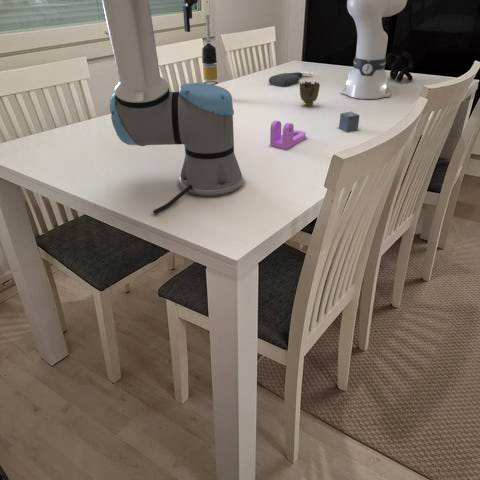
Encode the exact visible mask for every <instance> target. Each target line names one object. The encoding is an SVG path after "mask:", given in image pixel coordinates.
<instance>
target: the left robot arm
mask: <svg viewBox="0 0 480 480" xmlns="http://www.w3.org/2000/svg"><path fill="white" fill-rule="evenodd" d="M181 1H182V2H183V4H184V5H183V6H182V12H183V25H184V32H186V33H191V24H190V22H191V21H190V19H193V5H195V4H198V2H199V0H181ZM101 2H102V6H103V11H104V15H105V21H106V24H107V30H108V34H109V39H110V43H111V47H112V53H113V57H114V61H115V66H116V71H117V75H118V79H119V82H118V83H117V85H116V86H115V87H114V93H113V94H111V96H110V100H109V112H110V114H111V115H110V119H111V122H112V126H113V129H114V132H115V133H116V135H117V137H118V139H119V140H120V141H121V142H122V143H124V144H125V145H127V146H140V147H146V146H169V145H171V146H172V145H173V146H175V145H184V154H185V155H184V158H183V164H182V168H181V171H180V176H179V183H180V184H179V185H180V188H181V189H182V190H181V191H180V192H179V193H177V194H176V196H174V197H173V198H172V199H171V200H169V201H167V203H165V204H163V205H161V206H159V207H157V208H155V209H154V210H152V212H153V214H154V215H158V214H159V213H160V212H163V211H164V210H166V209H168V208H170V207H171V206H172V205H173V204H175V203H176V202H177V201H178V200H180V199H181V198H182V197H183V196H184V195H186V194H190V195H194V196H199V197H221V196H224V195H229V194H232V193H234V192H235V191H237V190H239V189H240V188H241V187H242V185H243V174H242V171H241V168H240V165H239V163H238V160H237V157H236V154H235V138H234V137H235V135H234V134H235V133H234V114H235V110H234V106H233V105H234V104H233V96H232V94H231V92H230V91H229V90H227V89H226V88H224V87H222V86H220V85H217V84H214V85H212V84H213V83H206V84H205V83H204V82H192V83H191V82H190V83H189V82H187V83H183V84H182V85H180V86H179V89H178V91H170V85H169V83H168V81H167V79H164V77H162V76H161V72H160V66H159V59H158V52H157V45H156V39H155V32H154V26H153V18H152V11H151V5H150V4H151V3H150V0H101Z"/></svg>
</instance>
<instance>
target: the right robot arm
mask: <svg viewBox="0 0 480 480" xmlns="http://www.w3.org/2000/svg"><path fill="white" fill-rule="evenodd" d="M346 1H347V2H346V9H347V13H349V15H350V16H351V18H352V19H353V21H354V23H355V28H356V34H357V39H356V51H355V57H353V58H354V59H353V68H352V70H350V71H349V72H348V77H347V81H346V83H345V85H346V88H345V89H342V91H341V94H342V95H346V96H348V97H350V98H354V99H360V100H377V99H382V98H390V97H391V93H390V91H389V89H388V74H387V72H386V71H385V68H386V64H387V61H386V56H387V55H386V54H387V48H388V40H389V36H388V34H387V32H386V31H385V30H384V27H383V21H382V19H383V18H388V17H392V16H394V15H397V14H398V13H400V12H403V10H404V9H405V7H406V5H407V2H408V0H346Z"/></svg>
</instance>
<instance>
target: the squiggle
mask: <svg viewBox="0 0 480 480" xmlns="http://www.w3.org/2000/svg"><path fill="white" fill-rule="evenodd" d="M401 57H402V59H401ZM385 58H386V64H387V67H390V68H391V70H390V72H389V78H390V79H391V80H395V79H396V81H397V82H399V83H400V82H402V81H403V79H404V76H406V78H407V80H408V81H412V80H413V79H414V77H413V75H412V74H411V73H410V72H409V71H410V70H412V69H413V68H414V64H413V61H412V57H411V54H410V53H409V52H408V51H403V53H402V54H401V55H396V54H394V53H392V52H390V53H387V55H386V56H385ZM391 59H392V60H391ZM393 60H394V61H393ZM406 62H407V65H408V66H407V67H405V66H404V65H405V64H406ZM400 70H401V71H400Z"/></svg>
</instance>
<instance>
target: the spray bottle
mask: <svg viewBox="0 0 480 480" xmlns="http://www.w3.org/2000/svg"><path fill="white" fill-rule="evenodd" d="M314 73H315V72H311V71H303V70H300V71H297V72H284V73H279V74H275V75H272V76H270V77H269V78H268V83H269V84H270V85H274V86H278V87H279V86H280V87H287V86H291V85H296V84H297V83H299V82H300V78H302V77H309V76H314V75H315V74H314Z"/></svg>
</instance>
